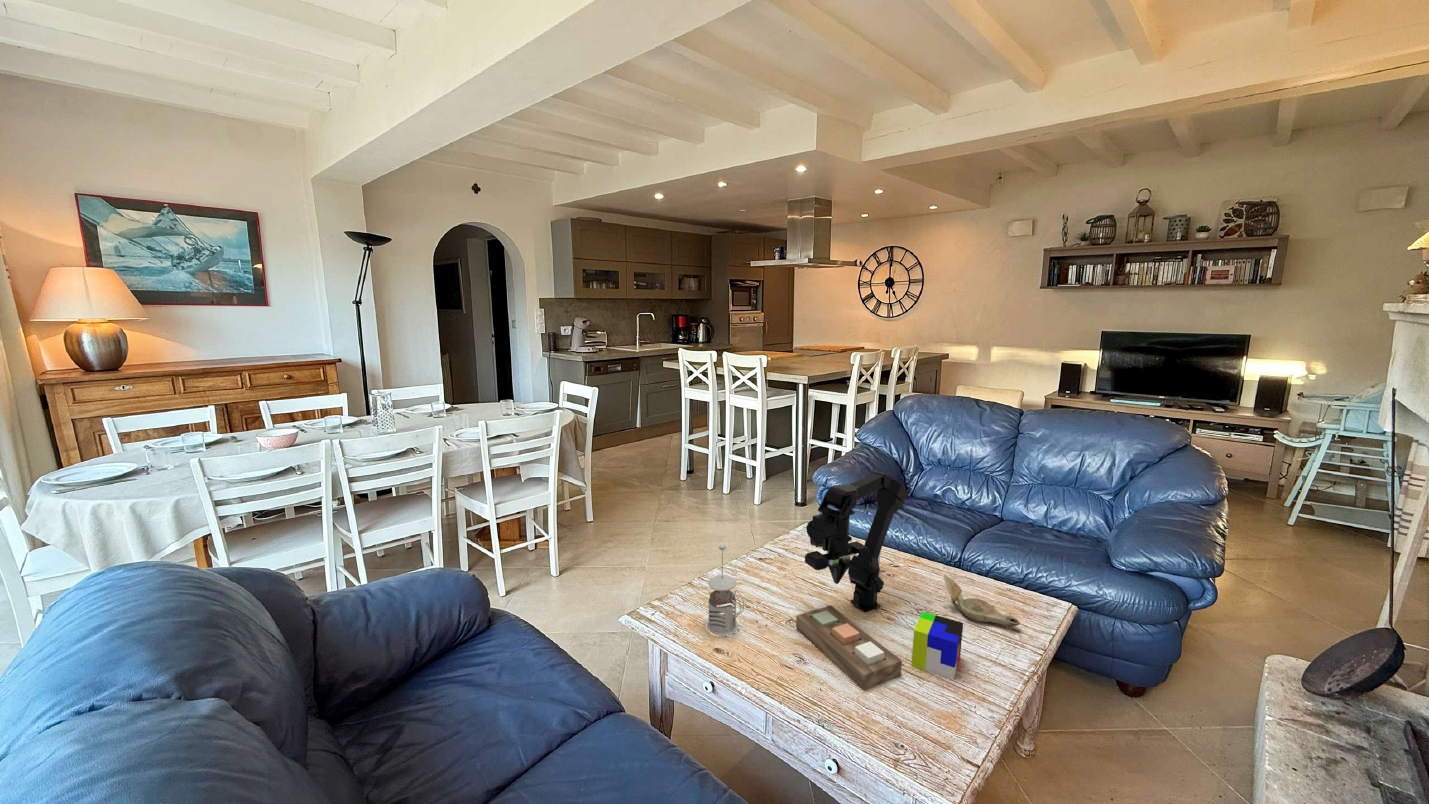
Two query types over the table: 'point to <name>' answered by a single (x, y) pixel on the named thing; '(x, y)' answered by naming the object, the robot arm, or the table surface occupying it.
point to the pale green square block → (824, 618)
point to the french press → (721, 596)
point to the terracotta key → (845, 634)
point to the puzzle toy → (937, 644)
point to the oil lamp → (977, 607)
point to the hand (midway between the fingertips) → (836, 583)
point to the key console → (848, 650)
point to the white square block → (869, 653)
